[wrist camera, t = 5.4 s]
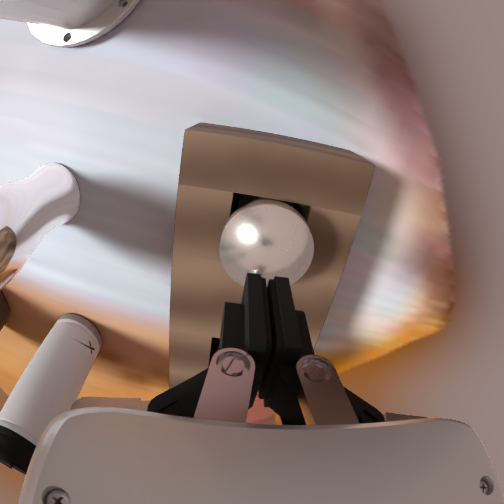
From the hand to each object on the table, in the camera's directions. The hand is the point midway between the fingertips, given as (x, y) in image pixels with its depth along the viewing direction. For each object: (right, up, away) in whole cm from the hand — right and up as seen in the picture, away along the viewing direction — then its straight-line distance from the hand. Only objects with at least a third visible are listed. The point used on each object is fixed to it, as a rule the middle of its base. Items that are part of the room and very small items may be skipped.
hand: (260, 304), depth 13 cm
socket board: (0, +1, +16) cm, 16 cm away
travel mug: (-21, -7, +20) cm, 30 cm away
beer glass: (-19, +8, +13) cm, 24 cm away
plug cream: (+1, +6, +13) cm, 14 cm away
